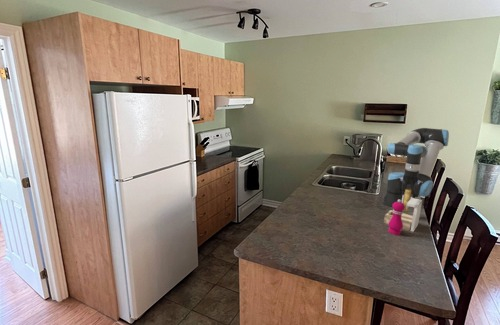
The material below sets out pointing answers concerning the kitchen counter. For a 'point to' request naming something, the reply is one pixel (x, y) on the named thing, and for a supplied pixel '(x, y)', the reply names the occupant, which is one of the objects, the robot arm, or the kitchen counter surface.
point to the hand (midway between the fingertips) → (406, 204)
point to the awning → (415, 211)
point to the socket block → (404, 217)
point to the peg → (407, 198)
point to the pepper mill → (396, 218)
